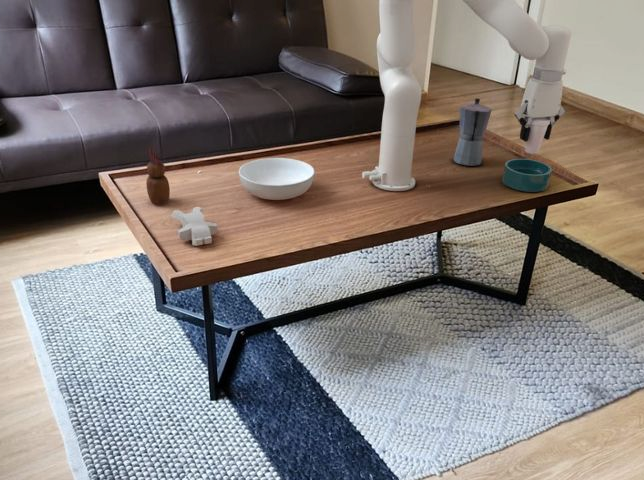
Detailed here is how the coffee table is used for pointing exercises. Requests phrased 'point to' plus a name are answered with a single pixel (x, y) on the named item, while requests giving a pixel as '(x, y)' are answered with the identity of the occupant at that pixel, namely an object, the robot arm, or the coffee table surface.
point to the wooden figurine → (157, 181)
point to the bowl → (526, 175)
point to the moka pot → (471, 133)
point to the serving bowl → (276, 178)
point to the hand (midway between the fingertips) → (534, 138)
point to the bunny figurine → (195, 227)
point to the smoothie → (536, 134)
